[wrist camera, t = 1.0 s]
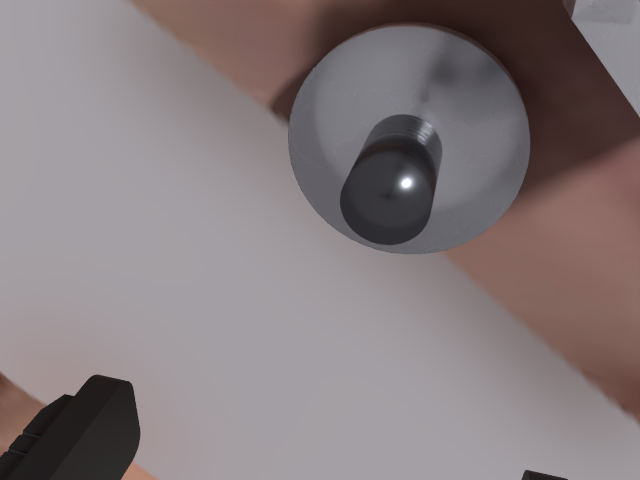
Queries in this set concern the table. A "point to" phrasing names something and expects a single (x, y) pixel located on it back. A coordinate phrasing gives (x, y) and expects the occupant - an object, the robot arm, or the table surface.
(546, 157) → the table surface
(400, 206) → the lid
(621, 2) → the pot
